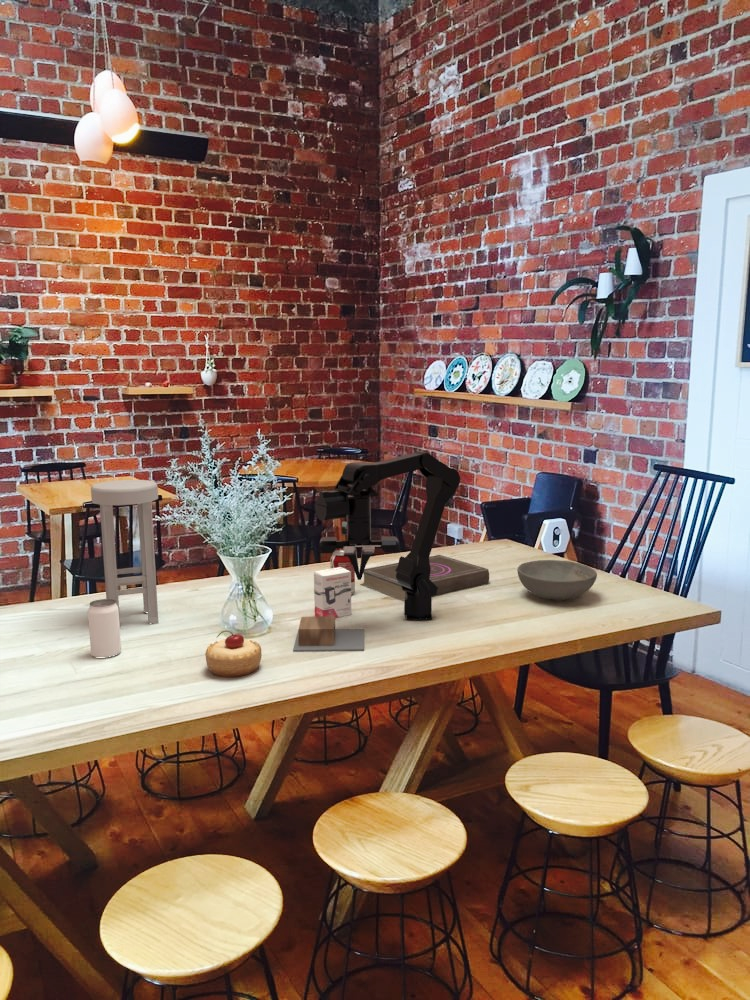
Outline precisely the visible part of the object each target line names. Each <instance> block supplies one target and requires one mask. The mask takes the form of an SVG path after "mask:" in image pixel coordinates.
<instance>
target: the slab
mask: <svg viewBox="0 0 750 1000" xmlns="http://www.w3.org/2000/svg"><path fill="white" fill-rule="evenodd" d="M299 621H300V622H299V624H298V625H299V626H298V630H297V632H298V642H299V646H334V641H335V629H336V618H335V616H324V617H317V616H301V618H300V620H299Z"/></svg>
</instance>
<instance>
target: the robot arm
mask: <svg viewBox="0 0 750 1000" xmlns="http://www.w3.org/2000/svg"><path fill="white" fill-rule="evenodd" d="M414 471H418V472H419V474H421V476H423V477H424V478H425V479H426V481H425V491H426V501H425V503H424V508H423V510H422V514H421V516H420V521H419V524H418V527H417V530H416V533H415V537H414V539H413V542H412V546H411V549H410V552H408V554H407V555H406V556H402V555H401V556H400V557H399V559H398V562H397V563H398V566H397V568H396V570H395V571H396V572H397V573H396V579H397V581H398V583H399V584H400V585H401V588H402V590H403V591H406V597H405V598H404V601H403V604H404V605H403V612H404V613H403V614H404V617H405V618H406V620H408V621H424V620H425V621H431V620H433V619H434V618H433V614H432V611H433V610H432V607H433V606H432V601H433V598H432V596H433V597H436V593H437V590H438V587H437V586H436V585H435V584H434V583H433V582H432V581H431V580H430V579H429V578H430V572H431V568H430V561H429V557H431V556H430V555H431V552H432V549H433V547H434V543H435V539H436V537H437V533H438V529H439V528H440V524H441V521H442V517H443V515H444V511H445V507H446V505H447V503H448V502H449V501H450V500H451V499H452V498H453V497H454V496H455V495H456V492H457V490H458V488H459V486H460V483H461V481H462V480H461V476H460V474H459V471H458V470H457V469H456V468H454V467H453V468H452V467H450V466H448V465H447V464H445V463H444V462H442V461H440V460H438V459H437V458H436V457H434V455H432V454H431V453H429V452H428V451H422V450H421V451H420V450H416V451H415V452H413V453H409V454H405V455H401V456H396V457H393V458H388V459H384V460H381V461H376V462H375V461H373V462H371V461H370V462H368V461H367V462H365V461H364V462H363V461H361V462H360V461H359V462H357V461H355V462H350V463H347V464H345V467H344V469H343V470H342V473H341V474H342V475H341V476H340V478H339V480H338V481H337V482H336V484H335V486H334V488H333V490H320V491H319V492H318V493H319V494H318V495H319V496H318V497H317V499H316V501H315V504H314V510H315V514H316V517H317V519H319V521H320V522H321V521H322V522H323V521H330V520H336V519H337V520H339V519H344V518H346V521H341V535H342V536H346V540H337V536H323V537H321V538H320V540H319V553H320V554H333V552H334V551H337V550H338V549H339V550H344V556H347V557H348V558H349V560H350V562H351V563H352V565H353V568H354V571H355V577H356V578H357V581H361V580H362V579H363V576H364V573H363V572H364V569H366V566H367V564H368V561H369V559H370V557H375V549H381V550H382V551H383V552H384V553H387V554H389V553H399V540H398V538H397V536H392V535H391V536H381V540H380V539H379V540H372V528H371V527H372V526H371V525H372V519H371V518H372V516H371V513H372V512H371V509H372V508H371V505H372V504H371V498H375V497H379V496H380V495H379V494H380V493H378V492H377V491H376V490H375V489H374V488H373V487H374V486H376V485H378V484H379V483H380V482H381V481H383V480H385V479H387V478H392V477H396V476H399V475H402V474H403V475H404V474H407V473H410V472H411V473H412V472H414ZM357 549H361V558H360V563H359V561H358V555H357V554H358V552H357ZM359 564H360V566H359Z"/></svg>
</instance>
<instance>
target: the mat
mask: <svg viewBox="0 0 750 1000" xmlns="http://www.w3.org/2000/svg"><path fill="white" fill-rule="evenodd" d="M364 651H365V628H335V641H334V646H299V642H298V631H297V633H296V637H295V642H294V645H293V649H292V652H293V653H295V652H299V653H300V652H364Z"/></svg>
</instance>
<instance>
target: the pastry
mask: <svg viewBox="0 0 750 1000" xmlns="http://www.w3.org/2000/svg"><path fill="white" fill-rule="evenodd" d="M226 632H227V633H230V634H231V635H229V636H226V638H223V639H221V640H219V641H215V642H214V643H210V644H209V645H208V646H207V648H206V651H205V655H204V656H205V662H206V666H207V667H208V669H209V671H210V672H211V673H212V674H213V675H215V676H218V677H224V678H236V677H242V676H247V675H249V674H252V673H253V672H255V671H256V670H257V669H258V667H259V665H260V664H261V660H262V647H261V645H260V643H258V642H257V641H253V640H250V639H249V640H248V639H246V638H245V637H244V636H243V635H242V634H239V633H235V634H234V633H233V632H232V631H230V630H223V631H221V632H220V633H218V634H217V636H216V639H217V638H219V636H220V635H221V634H223V633H226Z"/></svg>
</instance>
